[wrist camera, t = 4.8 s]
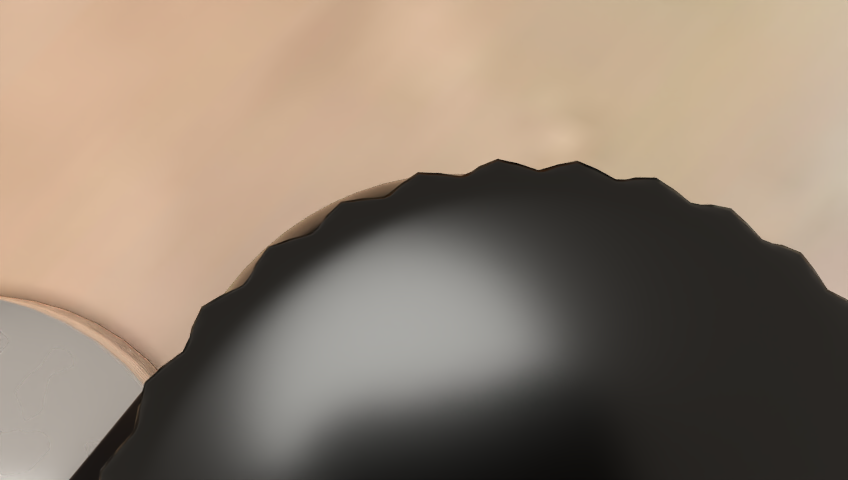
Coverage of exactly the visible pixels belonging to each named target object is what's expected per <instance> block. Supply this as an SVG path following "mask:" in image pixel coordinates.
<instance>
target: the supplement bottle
mask: <svg viewBox="0 0 848 480" xmlns="http://www.w3.org/2000/svg"><path fill="white" fill-rule="evenodd" d="M99 480H848V300H847V299H845V298H843V297H841V296H839V295H837V294H835V293H833V292H831V291H829V290H827V288H826V286H825V285H824V283H823V282H822V280H821V279H820V277H819V276H818V274H817V273H816V271H815V270H814V268H813V267H812V266H811V265H810V263H809V262H808V261H807V259H806V258H805V257H804V256H803V254H802V253H800V252H798V251H796V250H793V249H791V248H788V247H786V246H783V245H778V244H772V243H770V242H767V241H765V240H762V239H761V238H760V237H759V236H758V235H757V233H756V232H755V231H754V230H753V229H752V228H751V227H750V226H749V225H748V224H747V223H746V222H745V221H744V220H743V219H742V218H741V217H740V216H739V215H738V214H736V213H735V212H734V211H733V210H732V209H731V208H726V207H721V206H716V205H699V204H694V203H690V202H689V201H688V200H687V199H685V198H684V197H683V196H682V195H680V194H679V193H678V192H677V191H675V190H674V189H673V188H671V187H669V186H668V185H666V184H665V183H663V182H662V181H660V180H659V179H657V178H631V179H627V180H619V179H614V178H612V177H610V176H609V175H607V174H605V173H603V172H601V171H599V170H598V169H596V168H593V167H591V166H588V165H586V164H584V163H581V162H579V161H574V162H569V163H563V164H558V165H555V166H552V167H548V168H545V169H541V170H536V169H533V168H530V167H527V166H524V165H521V164H518V163H514V162H509V161H504V160H500V159H496V160H494V161H491V162H489V163H486V164H484V165H481V166H479V167H478V168H476V169H475V170H473V171H472V172H470V173H467V174H450V175H449V174H442V173H423V172H418V173H416V174H415V175H413V176H412V177H410V178H408V179H403V180H399V181H394V182H389V183H385V184H381V185H378V186H375V187H372V188H369V189H366V190H363V191H360V192H357V193H354V194H352V195H350V196H348V197H345V198H343V199H341V200H338V201H336V202H334V203H332V204H330V205H328V206H326V207H324V208H323V209H321V210H319V211H317V212H315V213H313V214H312V215H310V216H308V217H307V218H305V219H304V220H302V221H301V222H299V223H298V224H296V225H295V226H293V227H292V228H290V229H289V230H288V231H286V232H285V233H284V234H282V235H281V236H280V237H279V238H278V239H276V240H275V241H274V242H273V243H271V244H270V245H269V246H268V247H267V248H265V249H264V250H263V251H262V252H261V253H260V254H259V255H258V256H257V257H256V258H255V259H254V260H253V261H252V262H251V263H250V264H249V265H248V266H247V267H246V268H245V269H244V270H243V271H242V273H241V274H240V275H239V276H238V277H237V279H236V280H235V281H234V282H233V284H232V285H231V286H230V287H229V288H228V290H227V291H226V292H225V293H224V294H223V295H221V296H219V297H217V298H216V299H214V300H212V301H211V302H209V303H207V304H206V305H204V306H202V307H201V310H200V312H199V314H198V316H197V318H196V320H195V322H194V324H193V326H192V329H191V333H190V338H189V340H188V342H187V344H186V346H185V348H184V350H183V352H181V353H180V354H179V355H177V356H176V357H175V358H173V359H172V360H170V361H169V362H168V363H166V364H165V365H164V366H162V367H161V368H160V369H159V370H158V371H157V372H155V373H154V374H153V375H152V376H151V377H150V378H149V379H147V380H146V381H145V383H144V387H143V390H142V394H141V398H140V401H139V405H138V410H137V415H136V420H135V426H134V431H133V432H132V433H131V435H130V436H129V437H128V438H127V439H126V440H125V441H124V442H123V443H122V444H121V445H120V446H119V448H118V449H117V450H116V451H115V452H114V453H113V455H112V456H111V457H110V459H109V460H108V461H107V462H106V464H105V465H104V466H103V468H102V469H101V470H100V477H99Z"/></svg>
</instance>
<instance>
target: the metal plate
mask: <svg viewBox="0 0 848 480" xmlns="http://www.w3.org/2000/svg"><path fill="white" fill-rule="evenodd" d="M155 372H157V370H156V368H155V367H154V366H153V365H152V364H151V363H150V362H149V361H148V360H147V359H146V358H145V357H143V356H142V355H141V354H140V353H139V352H137V351H136V350H135V349H134V348H133V347H131V346H130V345H129V344H128V343H127V342H125V341H124V340H123V339H121V338H119V337H118V336H116V335H115V334H113V333H111V332H110V331H108V330H106V329H105V328H103V327H102V326H100V325H98V324H97V323H95V322H92V321H90V320H88V319H86V318H83V317H81V316H79V315H76V314H74V313H72V312H69V311H67V310H64V309H61V308H57V307H54V306H50V305H47V304H43V303H40V302H36V301H31V300H24V299H17V298H10V297H3V296H0V480H69V479H70V478H71V477H72V475H73V474H74V473H75V472H76V471H77V469H78V468H79V467H80V466H81V464H82V463H83V462H84V461H85V460H86V458H87V457H88V456H89V455H90V454H91V452H92V451H93V450H94V449H95V447H96V446H97V445H98V444H99V443H100V441H101V440H102V439H103V438H104V437H105V435H106V434H107V433H108V432H109V431H110V429H111V428H112V427H113V426H114V424H115V423H116V422H117V421H118V420H119V418H120V417H121V416H122V415H123V414H124V412H125V411H126V410H127V409H128V407H129V406H130V405H131V404H132V403H133V401H134V400H135V399H136V398H137V397H138V395H139V394H140V393H141V392H142V390H143V387H144V383H145V381H146V380H147V379H149V378H150V377H151V376H152V375H153V374H154V373H155Z"/></svg>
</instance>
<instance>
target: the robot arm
mask: <svg viewBox="0 0 848 480" xmlns="http://www.w3.org/2000/svg"><path fill="white" fill-rule="evenodd" d="M141 394H142V392H141V393H140V394H139V395H138V397H137V398H136V399H135V400H134V401H133V403H132V404H131V405H130V406H129V407H128V409H127V410H126V411H125V412H124V414H123V415H122V416H121V417H120V418H119V420H118V421H117V422H116V423H115V424H114V426H113V427H112V428H111V429H110V431H109V432H108V433H107V434H106V435H105V437H104V438H103V439H102V440H101V441H100V443H99V444H98V445H97V446H96V447H95V449H94V450H93V451H92V452H91V454H90V455H89V456H88V457H87V458H86V460H85V461H84V462H83V463H82V464H81V466H80V467H79V468H78V469H77V471H76V472H75V473H74V474H73V475H72V477H71V478H70V479H69V480H99V477H100V470H101V469H102V468H103V466H104V465H105V464H106V462H107V461H108V460H109V459H110V457H111V456H112V455H113V453H114V452H115V451H116V450H117V449H118V448H119V446H120V445H121V444H122V443H123V442H124V441H125V440H126V439H127V438H128V437H129V436H130V435H131V433H132V432H133V431H134V426H135V420H136V415H137V410H138V405H139V401H140V398H141Z"/></svg>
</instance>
